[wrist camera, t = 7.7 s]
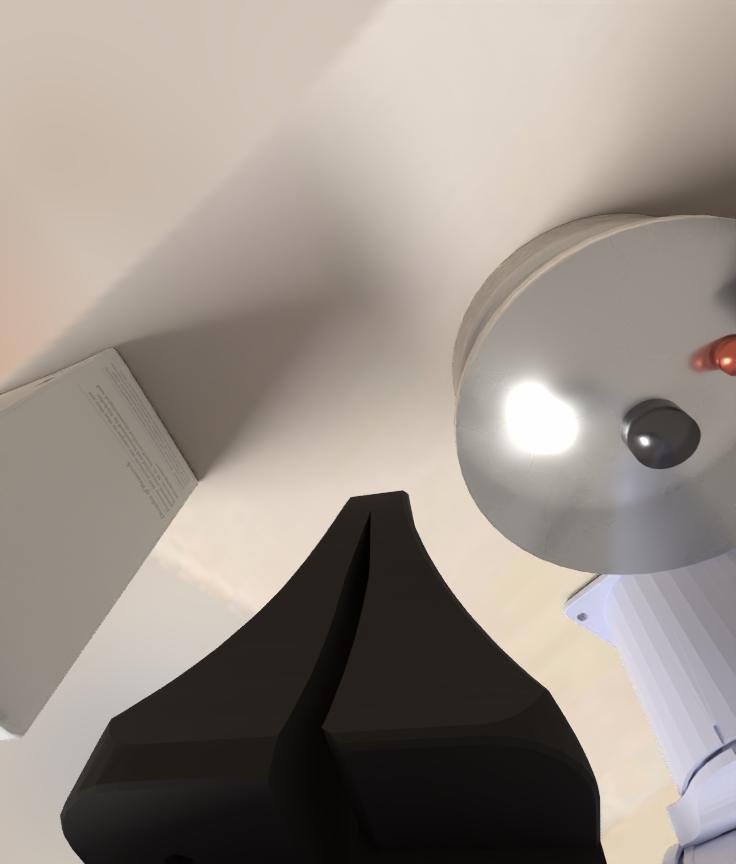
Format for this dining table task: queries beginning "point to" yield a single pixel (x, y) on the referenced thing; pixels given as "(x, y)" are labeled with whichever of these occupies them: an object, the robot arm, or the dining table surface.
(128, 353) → the dining table surface
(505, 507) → the lid
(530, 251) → the pot
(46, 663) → the supplement box
